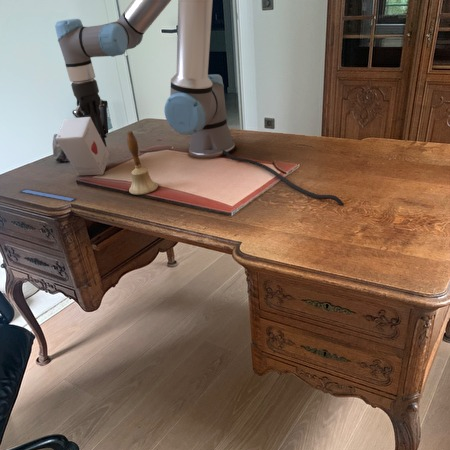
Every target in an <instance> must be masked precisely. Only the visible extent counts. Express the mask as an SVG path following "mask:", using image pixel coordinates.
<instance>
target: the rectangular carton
mask: <svg viewBox="0 0 450 450" xmlns="http://www.w3.org/2000/svg"><path fill="white" fill-rule="evenodd" d="M57 134H58V135H57V137H56V140H57V142H58V143H59V145H60V147H61V148H62V150H63V151H64V153H65V155H66V156H67V158H68V160H69V161H68V162H69V163H70V165H71V166H72V167H73V170H74V171H75V173H76V174H77V176H103V175H104V173H105V170H106V167H107V165H108V163H109V162H108V161H109V159H110V156H111V154H110V152H109V151H108V149H107V146H106V147H105V145H104V143H103V141H102V139H101V137H100V135H99V133H98V131H97V129H96V127H95V125H94V123H93V121H92V119H91V117H81V118H76V117H66V118H63V121H62V123H61V126H60V128H59V129H58V133H57Z"/></svg>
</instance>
